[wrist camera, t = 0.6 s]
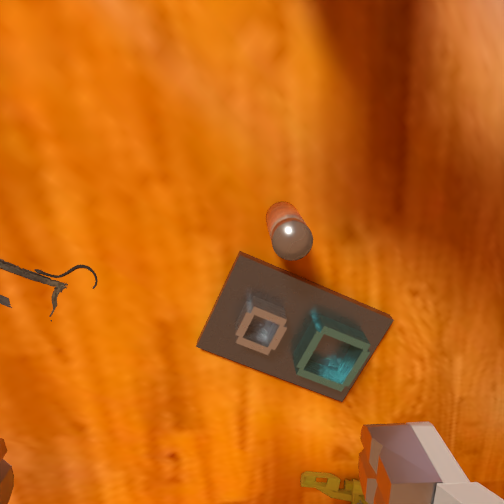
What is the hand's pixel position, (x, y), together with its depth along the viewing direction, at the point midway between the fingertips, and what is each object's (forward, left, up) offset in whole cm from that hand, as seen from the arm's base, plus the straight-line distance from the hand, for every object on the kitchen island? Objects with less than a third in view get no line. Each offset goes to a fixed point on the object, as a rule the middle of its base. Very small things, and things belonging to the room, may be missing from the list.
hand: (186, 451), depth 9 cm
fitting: (+1, +7, -39) cm, 40 cm away
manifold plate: (+14, +15, -39) cm, 44 cm away
